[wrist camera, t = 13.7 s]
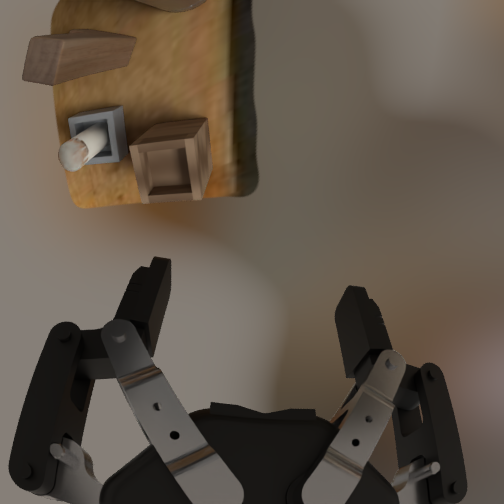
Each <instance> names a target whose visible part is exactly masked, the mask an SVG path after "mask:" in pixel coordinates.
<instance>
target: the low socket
mask: <svg viewBox="0 0 504 504" xmlns="http://www.w3.org/2000/svg"><path fill="white" fill-rule="evenodd" d="M68 121H69V128H70V134H71V138H73V137H75V136H76V135H78V134H79V133H81V132H83V131H84V130H86V129H87V128H89V127H91V126H92V125H94V124H96V123H98V122H103V123H106V124H108V130H109V137H110V144H109V145H108V146H106V147H105V148H104V149H102V150H101V151H100V152H99V153H97V154H96V155H95V156H94V157H93V158H91V159H90V160H89V161H88V162H87V163H85V164H84V165H89V164H99V163H111V162H120V161H121V160H122V159H123V158H124V157H125V156H126V155H127V154H128V147H127V139H126V131H125V123H124V113H123V106H116V107H109V108H103V109H97V110H91V111H85V112H80V113H78V114H76V115H74V116H72V117H70V118H68Z"/></svg>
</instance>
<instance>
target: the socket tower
mask: <svg viewBox="0 0 504 504" xmlns="http://www.w3.org/2000/svg"><path fill="white" fill-rule="evenodd" d="M129 148H130V153H131V157H132V162H133V167H134V171H135V176H136V180H137V184H138V189H139V193H140V197H141V201H142V204H146V203H159V202H173V201H189V200H202V197H203V194H204V192H205V189H206V186H207V183H208V180H209V177H210V174H211V171H212V169H213V165H212V156H211V146H210V137H209V127H208V118H203V119H192V120H183V121H175V122H167V123H159V124H155V125H154V126H152V127H151V128H150V129H149V130H147V131H146V132H145V133H144V134H143V135H141V136H140V137H139V138H138V139H137V140H136V141H134V142H133V143H132V144H131V145H130V146H129Z"/></svg>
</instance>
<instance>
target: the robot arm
mask: <svg viewBox="0 0 504 504" xmlns="http://www.w3.org/2000/svg"><path fill="white" fill-rule="evenodd" d="M135 1H138V2H142V3H145V4H148V5H150V6H153V7H156V8H159V9H162V10H165V11H169V12H184V11H188V10H191V9H194V8H196V7H198V6H200V5H201V4H202V3H204V2H205V1H206V0H135ZM170 291H171V259H167V258H161V257H154V258H153V260H152V262H151V265H150V267H143V266H141V267H140V268H139V269H137V270H136V271H135V272H134V273H133V275H132V277H131V279H130V281H129V284H128V286H127V289H126V291H125V293H124V296H123V298H122V300H121V302H120V305H119V307H118V310H117V312H116V315H115V317H114V319H113V320H112V321H110V322H108V323H107V324H106V325H105V326H104V327H103V328H101V329H95V330H80V329H79V327H78V326H77V325H76V324H74V323H72V322H61V323H59V324H57V325H55V326H54V327H53V328H52V329H51V331H50V333H49V335H48V338H47V340H46V343H45V345H44V348H43V350H42V353H41V356H40V358H39V361H38V363H37V366H36V369H35V372H34V374H33V377H32V380H31V383H30V386H29V389H28V392H27V395H26V398H25V401H24V405H23V408H22V411H21V415H20V419H19V422H18V426H17V430H16V434H15V437H14V442H13V446H12V450H11V455H10V460H9V473H10V476H11V478H12V480H13V481H14V482H15V484H17V486H19V487H20V488H22V489H24V490H26V491H29V492H31V493H33V494H35V495H38V496H41V497H44V498H47V499H52V500H57V501H65V502H67V503H70V504H456V503H458V502H460V501H461V500H462V499H463V498H464V497H465V495H466V492H467V479H466V472H465V465H464V459H463V454H462V449H461V443H460V438H459V433H458V429H457V424H456V420H455V416H454V412H453V408H452V404H451V400H450V397H449V393H448V389H447V385H446V382H445V379H444V375H443V373H442V371H441V369H440V368H439V367H438V366H437V365H435V364H433V363H425V364H424V365H423V366H422V367H421V368H417V367H414V366H411V365H408V364H406V363H405V360H404V359H403V357H402V356H401V355H400V354H399V353H398V352H396V351H394V350H393V349H392V345H391V342H390V339H389V336H388V333H387V330H386V327H385V325H384V321H383V318H382V315H381V312H380V309H379V307H378V306H377V304H376V303H375V302H374V301H373V299H369V297H368V295H367V292H366V289H365V288H364V287H358V286H351V285H350V286H348V287H347V288H346V290H345V292H344V294H343V296H342V298H341V300H340V302H339V304H338V306H337V308H336V311H335V323H336V327H337V332H338V337H339V342H340V347H341V352H342V357H343V363H344V367H345V373H346V378H355V380H356V383H355V384H354V385H353V387H352V388H351V390H350V392H349V393H348V395H347V396H346V398H345V400H344V401H343V403H342V404H341V406H340V407H339V409H338V411H337V412H336V413H335V415H334V416H333V417H332V418H331V420H330V421H327V420H325V419H323V418H320V417H318V416H316V412H315V409H287V410H282V411H277V412H271V413H261V412H257V411H254V410H251V409H248V408H245V407H242V406H239V405H232V404H223V403H215V402H211V405H210V408H208V409H202V410H197V411H194V412H192V413H189V414H188V413H187V412H186V410H185V409H184V407H183V406H182V404H181V402H180V401H179V399H178V398H177V396H176V394H175V393H174V391H173V390H172V388H171V386H170V384H169V383H168V381H167V379H166V378H165V376H164V374H163V373H162V371H161V370H160V369H159V368H157V367H156V366H155V364H154V363H153V361H152V359H151V357H153V356H154V352H155V348H156V344H157V341H158V337H159V333H160V329H161V325H162V322H163V318H164V315H165V311H166V308H167V304H168V301H169V297H170ZM109 378H116V379H117V381H118V383H119V385H120V387H121V389H122V391H123V393H124V396H125V398H126V400H127V402H128V404H129V406H130V408H131V410H132V412H133V414H134V416H135V418H136V420H137V422H138V424H139V426H140V427H141V429H142V431H143V433H144V435H145V436H146V438H147V440H148V442H149V444H150V445H149V446H148V447H147V448H146V449H145V450H143V451H142V452H141V453H140V454H138V455H137V456H136V457H135V458H133V459H132V460H131V461H130V462H128V463H127V464H126V465H125V466H123V467H122V468H121V469H120V470H118V471H117V472H116V473H114V474H113V475H112V476H111V477H109V478H108V479H107V480H106V482H105V483H104V485H102V484H101V483H100V482H99V481H98V480H97V479H96V477H95V475H94V472H93V461H92V459H91V457H90V455H89V454H88V453H87V452H86V451H85V450H84V449H83V448H82V447H81V442H82V436H83V432H84V427H85V422H86V417H87V413H88V408H89V404H90V400H91V395H92V391H93V387H94V383H95V379H109ZM419 404H420V405H421V410H422V415H423V423H422V420H421V416H420V410H419ZM391 414H392V420H393V426H394V433H395V440H396V449H397V457H398V465H399V466H398V467H399V470H398V471H397V472H396V474H395V477H394V480H393V481H392V483H391V484H390V483H389V482H388V481H387V480H386V479H385V478H384V477H383V476H382V475H381V474H380V473H379V472H378V471H377V470H376V469H375V468H374V467H373V465H371V464H370V462H369V461H368V459H369V457H370V456H371V454H372V452H373V450H374V448H375V446H376V444H377V442H378V440H379V438H380V437H381V434H382V433H383V431H384V428H385V426H386V424H387V422H388V420H389V418H390V416H391Z"/></svg>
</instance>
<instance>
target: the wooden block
mask: <svg viewBox="0 0 504 504" xmlns="http://www.w3.org/2000/svg"><path fill="white" fill-rule="evenodd" d="M135 43H136V38H135V37H131V36H126V35H121V34H115V33H109V32H103V31H96V30H89V29H73V30H70V32H69V34H55V35H44V36H35V37H33V38H31V40H30V42H29V46H28V51H27V55H26V60H25V66H24V70H23V75H22V79H23V80H24V81H28V82H34V83H40V84H45V85H51V86H53V85H56V84H60V83H63V82H66V81H69V80H73V79H76V78H80V77H83V76H87V75H91V74H94V73H98V72H103V71H107V70H112V69H116V68H120V67H125V66H127V65H128V63H129V60H130V57H131V54H132V51H133V48H134V45H135Z"/></svg>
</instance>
